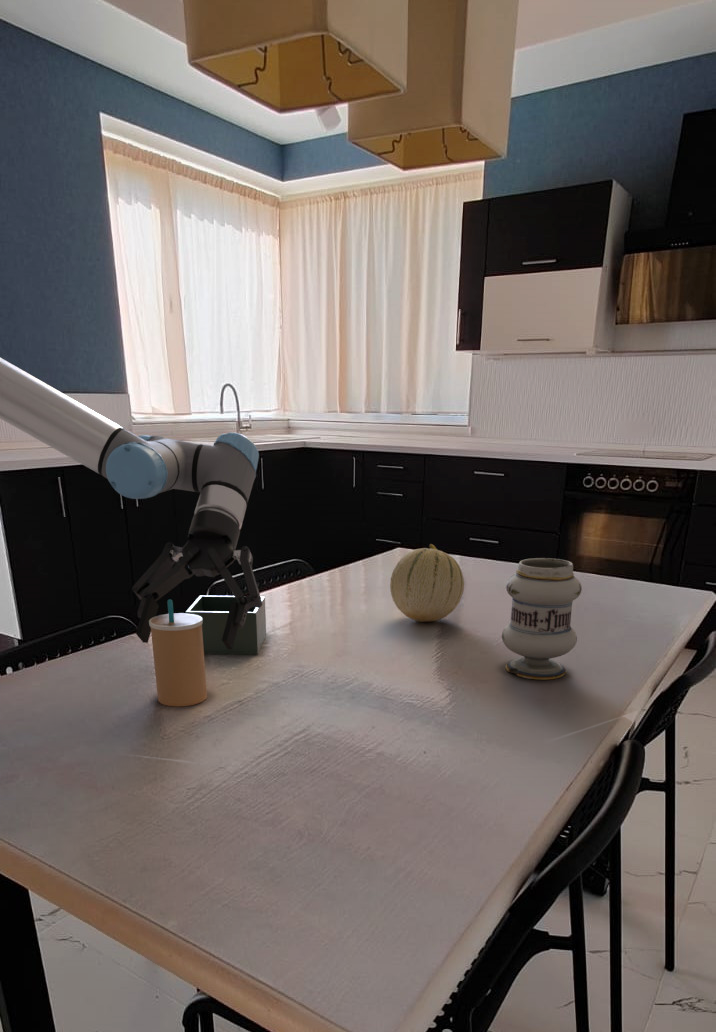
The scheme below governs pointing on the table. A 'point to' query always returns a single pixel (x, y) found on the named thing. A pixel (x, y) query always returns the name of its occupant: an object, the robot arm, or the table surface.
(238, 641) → the bin
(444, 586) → the cantaloupe
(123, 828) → the table surface
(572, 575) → the apothecary jar
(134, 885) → the table surface
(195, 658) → the drink cup
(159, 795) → the table surface
